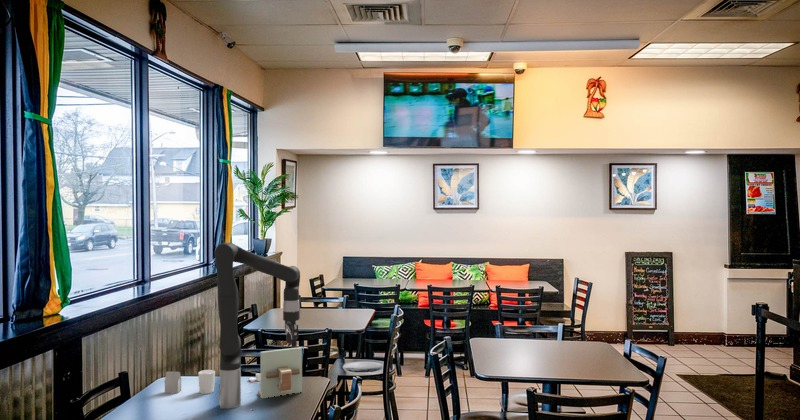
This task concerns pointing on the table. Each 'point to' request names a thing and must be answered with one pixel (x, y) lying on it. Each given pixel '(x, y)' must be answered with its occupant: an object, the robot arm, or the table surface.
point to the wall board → (271, 375)
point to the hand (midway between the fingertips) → (291, 344)
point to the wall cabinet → (284, 379)
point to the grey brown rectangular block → (172, 382)
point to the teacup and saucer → (258, 378)
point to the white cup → (206, 381)
